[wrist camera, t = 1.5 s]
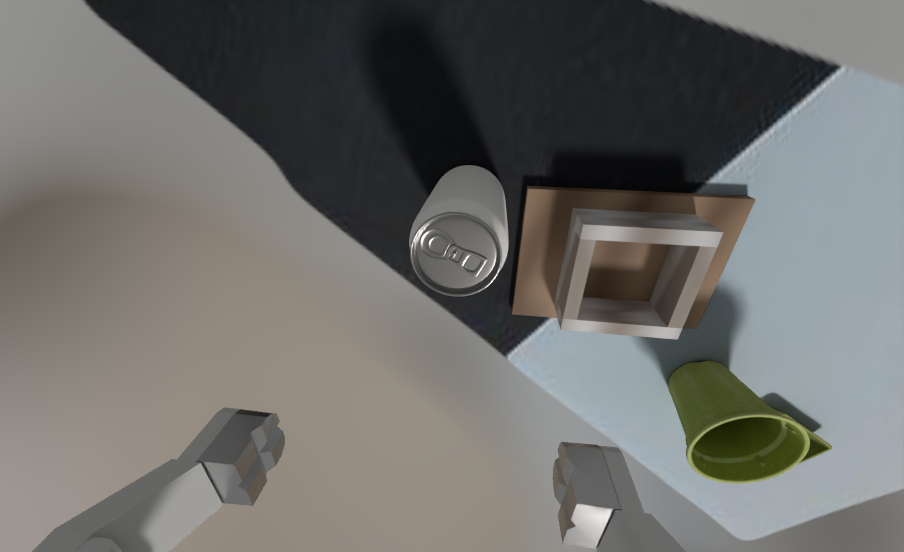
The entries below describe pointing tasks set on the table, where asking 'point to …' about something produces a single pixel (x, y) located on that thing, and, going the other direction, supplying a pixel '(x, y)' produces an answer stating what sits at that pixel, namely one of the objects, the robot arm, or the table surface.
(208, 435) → the robot arm
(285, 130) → the table surface
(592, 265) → the socket board
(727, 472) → the plant pot
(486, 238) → the can
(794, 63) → the table surface
